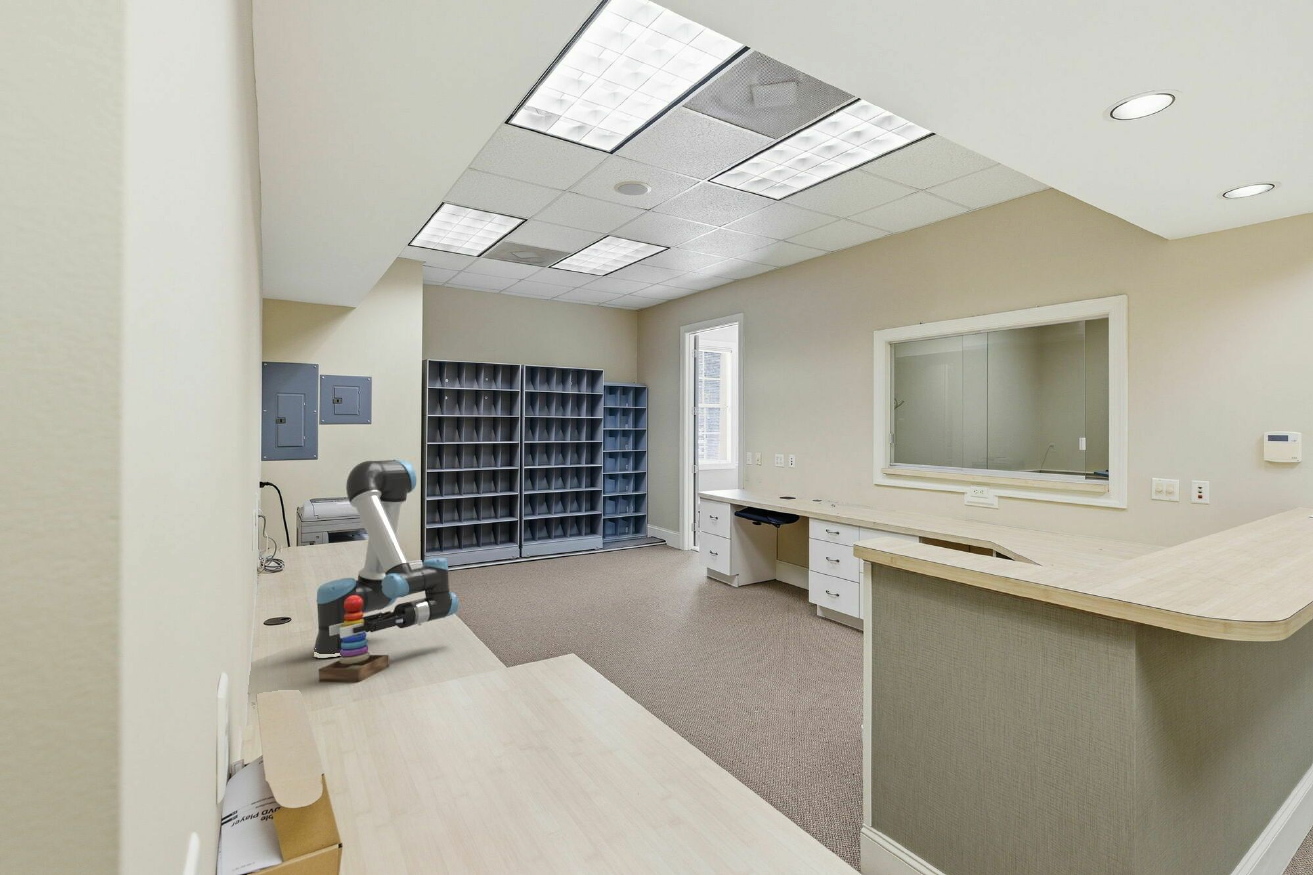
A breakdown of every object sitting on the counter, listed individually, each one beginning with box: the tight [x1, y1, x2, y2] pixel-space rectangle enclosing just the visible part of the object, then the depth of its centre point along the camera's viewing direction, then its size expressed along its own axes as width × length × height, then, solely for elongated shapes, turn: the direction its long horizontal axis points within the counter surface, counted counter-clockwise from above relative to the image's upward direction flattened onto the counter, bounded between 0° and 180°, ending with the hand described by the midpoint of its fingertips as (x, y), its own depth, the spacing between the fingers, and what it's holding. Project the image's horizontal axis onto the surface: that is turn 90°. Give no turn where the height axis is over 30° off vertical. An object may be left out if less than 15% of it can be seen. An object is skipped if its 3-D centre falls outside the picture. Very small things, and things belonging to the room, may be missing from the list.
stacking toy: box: [338, 595, 371, 664], centre depth 182 cm, size 8×8×19 cm
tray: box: [318, 654, 390, 683], centre depth 181 cm, size 13×13×4 cm
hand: (335, 632), depth 178 cm, fingers closed on stacking toy, 6 cm apart
